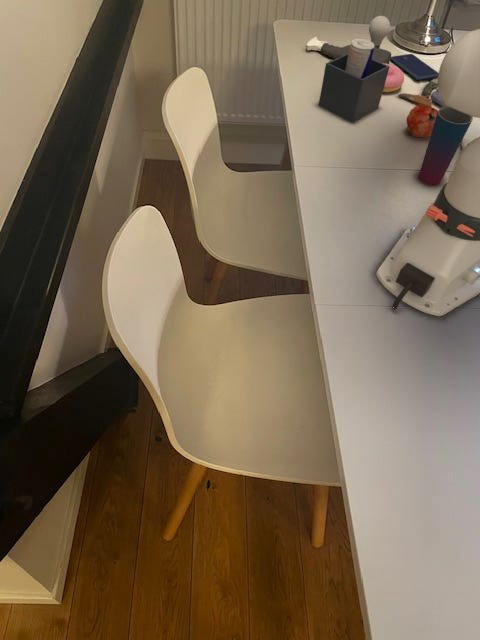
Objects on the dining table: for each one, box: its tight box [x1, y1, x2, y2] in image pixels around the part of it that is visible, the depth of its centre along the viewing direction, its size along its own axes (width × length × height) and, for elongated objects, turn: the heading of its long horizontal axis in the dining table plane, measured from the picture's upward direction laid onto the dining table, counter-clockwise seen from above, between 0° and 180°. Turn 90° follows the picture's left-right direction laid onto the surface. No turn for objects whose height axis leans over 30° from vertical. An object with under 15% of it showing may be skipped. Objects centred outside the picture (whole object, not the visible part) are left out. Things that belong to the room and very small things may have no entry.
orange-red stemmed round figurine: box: [405, 104, 439, 138], centre depth 120 cm, size 7×7×10 cm
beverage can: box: [345, 38, 374, 79], centre depth 123 cm, size 6×6×15 cm
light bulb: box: [368, 15, 391, 48], centre depth 146 cm, size 6×6×10 cm
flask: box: [430, 87, 446, 107], centre depth 132 cm, size 9×11×3 cm
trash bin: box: [318, 53, 389, 123], centre depth 125 cm, size 11×11×11 cm
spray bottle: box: [305, 36, 392, 64], centre depth 146 cm, size 3×11×24 cm
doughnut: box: [382, 63, 405, 93], centre depth 136 cm, size 11×11×4 cm
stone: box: [398, 92, 433, 107], centre depth 132 cm, size 9×2×3 cm
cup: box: [417, 106, 474, 186], centre depth 105 cm, size 7×7×15 cm
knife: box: [420, 77, 438, 98], centre depth 139 cm, size 20×1×3 cm
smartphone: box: [390, 53, 439, 81], centre depth 144 cm, size 8×1×15 cm
